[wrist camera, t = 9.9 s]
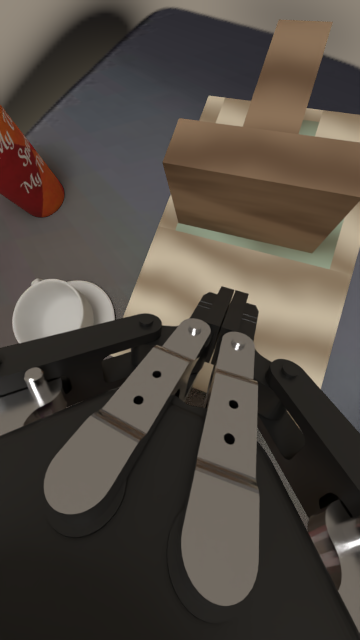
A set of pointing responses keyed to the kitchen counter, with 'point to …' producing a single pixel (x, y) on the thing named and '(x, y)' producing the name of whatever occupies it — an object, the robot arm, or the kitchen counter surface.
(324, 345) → the board
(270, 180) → the t block
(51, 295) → the teacup
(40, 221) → the kitchen counter surface
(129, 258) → the kitchen counter surface
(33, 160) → the paper cup
